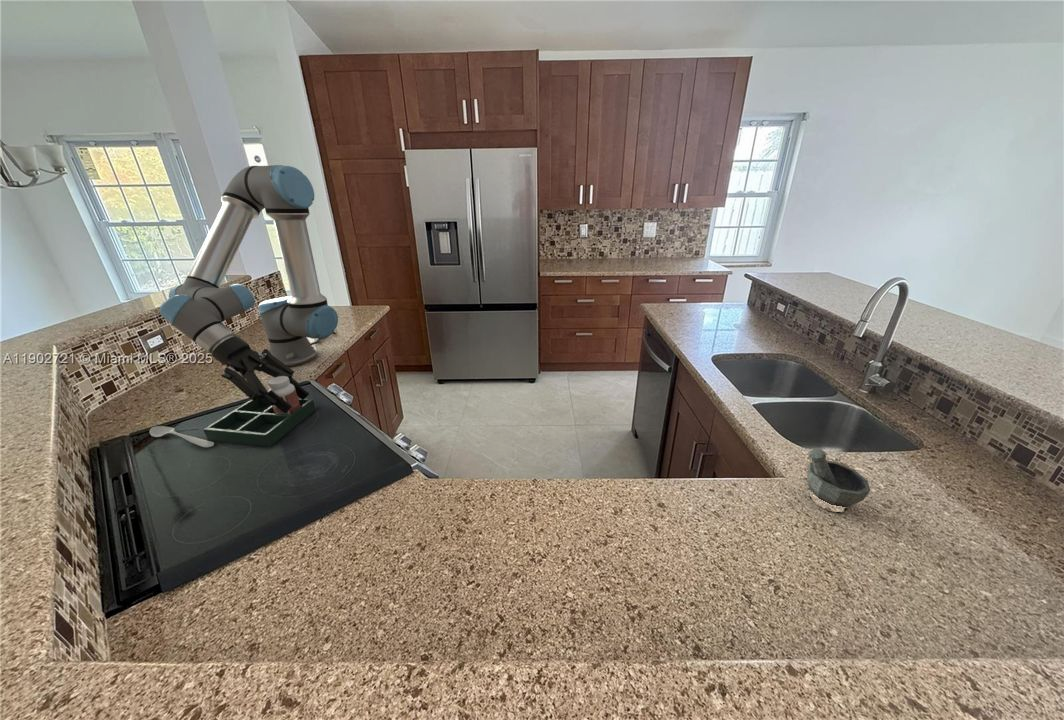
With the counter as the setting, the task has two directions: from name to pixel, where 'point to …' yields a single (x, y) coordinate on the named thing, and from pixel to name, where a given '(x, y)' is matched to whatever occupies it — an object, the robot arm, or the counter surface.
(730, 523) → the counter surface
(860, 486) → the mortar and pestle
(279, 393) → the pill bottle
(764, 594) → the counter surface
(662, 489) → the counter surface
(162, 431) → the spoon
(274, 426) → the grid
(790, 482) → the counter surface
